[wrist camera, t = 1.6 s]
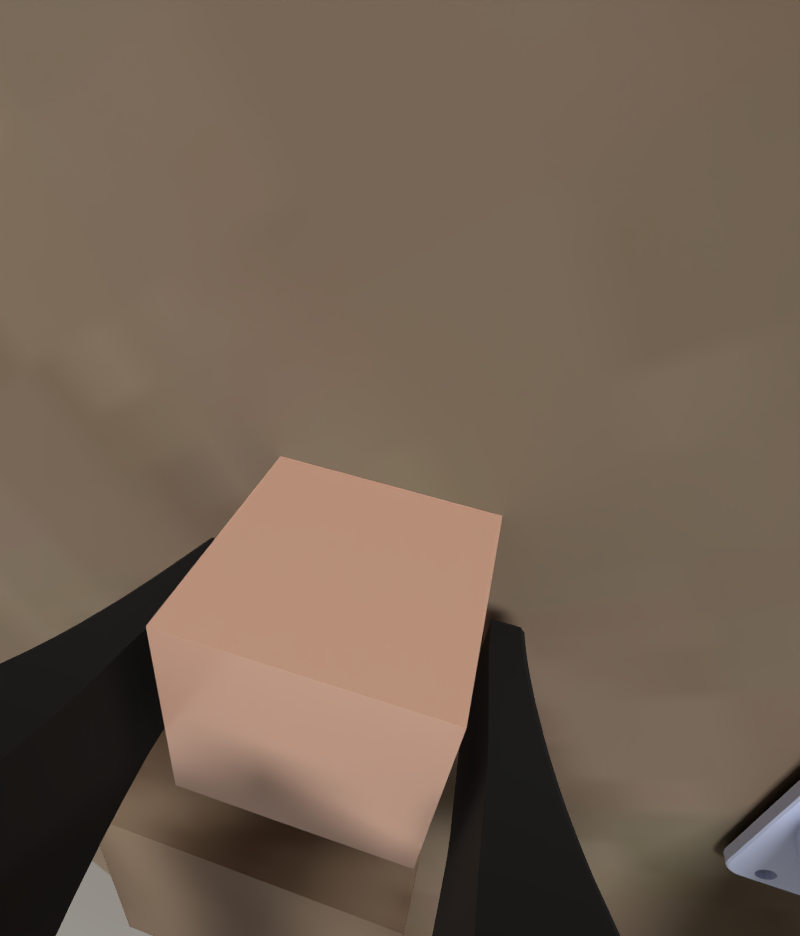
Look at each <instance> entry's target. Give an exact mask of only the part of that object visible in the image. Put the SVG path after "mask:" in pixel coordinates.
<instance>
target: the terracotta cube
mask: <svg viewBox="0 0 800 936" xmlns="http://www.w3.org/2000/svg"><path fill="white" fill-rule="evenodd" d="M501 522H502V516H500V515H497V514H493V513H489V512H486V511H482V510H478V509H474V508H471V507H467V506H463V505H460V504H456V503H452V502H448V501H445V500H441V499H437V498H434V497H430V496H426V495H423V494H419V493H415V492H411V491H408V490H404V489H400V488H397V487H393V486H389V485H385V484H382V483H378V482H374V481H371V480H367V479H363V478H360V477H356V476H352V475H348V474H345V473H341V472H337V471H334V470H330V469H326V468H322V467H319V466H315V465H311V464H308V463H304V462H300V461H297V460H293V459H289V458H285V457H282V456H280V457H279V459H278V460H277V461H276V462H275V464H274V465H273V466H272V467H271V469H270V470H269V471H268V472H267V474H266V475H265V476H264V478H263V479H262V480H261V481H260V483H259V484H258V485H257V486H256V488H255V489H254V490H253V491H252V493H251V494H250V495H249V496H248V498H247V499H246V500H245V502H244V503H243V504H242V505H241V507H240V508H239V509H238V510H237V512H236V513H235V514H234V515H233V517H232V518H231V519H230V520H229V522H228V523H227V524H226V526H225V527H224V528H223V529H222V531H221V532H220V533H219V534H218V536H217V537H216V538H215V539H214V541H213V542H212V543H211V544H210V546H209V547H208V548H207V550H206V551H205V552H204V553H203V555H202V556H201V557H200V558H199V560H198V561H197V562H196V563H195V565H194V566H193V567H192V568H191V570H190V571H189V572H188V574H187V575H186V576H185V577H184V579H183V580H182V581H181V582H180V584H179V585H178V586H177V587H176V589H175V590H174V591H173V592H172V594H171V595H170V596H169V598H168V599H167V600H166V601H165V603H164V604H163V605H162V606H161V608H160V609H159V610H158V611H157V613H156V614H155V615H154V616H153V618H152V619H151V620H150V622H149V623H148V624H147V625H146V630H147V635H148V641H149V646H150V651H151V657H152V662H153V667H154V673H155V678H156V683H157V689H158V694H159V699H160V705H161V710H162V716H163V721H164V726H165V732H166V737H167V742H168V748H169V753H170V758H171V764H172V769H173V774H174V780H175V785H176V786H179V787H182V788H185V789H188V790H191V791H193V792H196V793H199V794H202V795H205V796H208V797H210V798H213V799H216V800H219V801H222V802H225V803H227V804H230V805H233V806H236V807H239V808H242V809H244V810H247V811H250V812H253V813H256V814H259V815H261V816H264V817H267V818H270V819H273V820H276V821H278V822H281V823H284V824H287V825H290V826H293V827H296V828H298V829H301V830H304V831H307V832H310V833H313V834H315V835H318V836H321V837H324V838H327V839H330V840H332V841H335V842H338V843H341V844H344V845H347V846H349V847H352V848H355V849H358V850H361V851H364V852H366V853H369V854H372V855H375V856H378V857H381V858H383V859H386V860H389V861H392V862H395V863H398V864H400V865H403V866H406V867H409V868H412V869H414V866H415V863H416V861H417V858H418V856H419V853H420V850H421V848H422V845H423V842H424V840H425V837H426V834H427V832H428V829H429V826H430V824H431V821H432V818H433V816H434V813H435V810H436V808H437V805H438V802H439V800H440V797H441V795H442V792H443V789H444V787H445V784H446V781H447V779H448V776H449V773H450V771H451V768H452V765H453V763H454V760H455V757H456V755H457V752H458V749H459V747H460V744H461V741H462V739H463V736H464V734H465V731H466V728H467V723H468V717H469V711H470V705H471V699H472V693H473V687H474V681H475V675H476V669H477V663H478V658H479V652H480V646H481V640H482V634H483V628H484V622H485V616H486V610H487V604H488V598H489V593H490V587H491V581H492V575H493V569H494V563H495V557H496V551H497V545H498V539H499V533H500V528H501Z"/></svg>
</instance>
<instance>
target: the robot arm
mask: <svg viewBox="0 0 800 936" xmlns="http://www.w3.org/2000/svg"><path fill="white" fill-rule="evenodd" d="M214 539H215V538H211V539H209V540H208V541H206V542H205V543H203V544H202V545H200V546H199V547H197V548H196V549H195V550H193V551H192V552H190V553H189V554H187V555H186V556H184V557H183V558H182V559H180V560H179V561H177V562H176V563H174V564H173V565H171V566H170V567H168V568H167V569H166V570H164V571H163V572H161V573H160V574H158V575H157V576H155V577H154V578H152V579H151V580H149V581H148V582H146V583H144V584H143V585H141V586H140V587H138V588H137V589H135V590H134V591H132V592H131V593H129V594H128V595H126V596H124V597H123V598H121V599H120V600H118V601H117V602H115V603H113V604H111V605H110V606H108V607H106V608H105V609H103V610H101V611H100V612H98V613H96V614H95V615H93V616H91V617H90V618H88V619H86V620H85V621H83V622H81V623H79V624H78V625H76V626H74V627H72V628H70V629H69V630H67V631H65V632H63V633H61V634H59V635H58V636H56V637H54V638H52V639H50V640H48V641H46V642H44V643H42V644H40V645H38V646H36V647H34V648H32V649H30V650H28V651H26V652H24V653H22V654H20V655H18V656H16V657H14V658H11V659H9V660H7V661H5V662H3V663H1V664H0V936H55V935H56V934H57V932H58V930H59V927H60V925H61V923H62V921H63V919H64V917H65V915H66V913H67V910H68V908H69V906H70V904H71V902H72V900H73V898H74V896H75V894H76V892H77V890H78V888H79V886H80V883H81V881H82V879H83V877H84V875H85V873H86V871H87V869H88V867H89V865H90V863H91V861H92V859H93V857H94V855H95V853H96V851H97V849H98V847H99V845H100V843H101V841H102V840H103V838H104V836H105V834H106V832H107V830H108V828H109V826H110V824H111V822H112V820H113V819H114V817H115V815H116V813H117V811H118V809H119V807H120V805H121V803H122V801H123V800H124V798H125V796H126V794H127V792H128V790H129V789H130V787H131V785H132V783H133V781H134V779H135V778H136V776H137V774H138V772H139V770H140V769H141V767H142V765H143V763H144V761H145V759H146V758H147V756H148V754H149V752H150V751H151V749H152V748H153V746H154V744H155V743H156V741H157V740H158V738H159V736H160V735H161V733H162V732H163V730H164V729H165V726H164V721H163V716H162V710H161V705H160V699H159V694H158V689H157V683H156V678H155V673H154V667H153V662H152V657H151V651H150V646H149V641H148V635H147V630H146V625H147V624H148V623H149V622H150V620H151V619H152V618H153V616H154V615H155V614H156V613H157V611H158V610H159V609H160V608H161V606H162V605H163V604H164V603H165V601H166V600H167V599H168V598H169V596H170V595H171V594H172V592H173V591H174V590H175V589H176V587H177V586H178V585H179V584H180V582H181V581H182V580H183V579H184V577H185V576H186V575H187V574H188V572H189V571H190V570H191V568H192V567H193V566H194V565H195V563H196V562H197V561H198V560H199V558H200V557H201V556H202V555H203V553H204V552H205V551H206V550H207V548H208V547H209V546H210V544H211V543H212V542H213V541H214ZM723 853H724V859H725V864H726V866H727V868H728V869H729V870H731V871H732V872H733V873H735V874H738V875H740V876H743V877H746V878H749V879H752V880H755V881H758V882H761V883H764V884H767V885H770V886H773V887H776V888H779V889H782V890H785V891H788V892H791V893H795V894H798V895H800V780H799V781H798V782H797V783H796V784H795V785H794V786H793V787H792V788H790V789H789V790H788V791H787V792H786V793H785V794H784V795H783V796H782V797H781V798H780V799H778V800H777V801H776V802H775V803H774V804H773V805H772V806H771V807H770V808H769V809H768V810H766V811H765V812H764V813H763V814H762V815H761V816H760V817H759V818H758V819H757V820H755V821H754V822H753V823H752V824H751V825H750V826H749V827H748V828H747V829H746V830H745V831H743V832H742V833H741V834H740V835H739V836H738V837H737V838H736V839H735V840H734V841H733V842H731V843H730V844H729V845H728V846H727V847H726V848H725V849H724V851H723ZM432 936H620V934H619V932H618V930H617V928H616V926H615V923H614V921H613V919H612V917H611V915H610V912H609V910H608V908H607V906H606V904H605V901H604V899H603V897H602V895H601V893H600V890H599V888H598V886H597V884H596V882H595V880H594V877H593V875H592V873H591V870H590V868H589V865H588V863H587V861H586V858H585V856H584V853H583V851H582V848H581V846H580V843H579V841H578V838H577V836H576V833H575V830H574V828H573V825H572V822H571V820H570V817H569V814H568V812H567V809H566V806H565V803H564V800H563V797H562V794H561V791H560V788H559V785H558V782H557V779H556V776H555V773H554V770H553V766H552V763H551V760H550V757H549V753H548V750H547V746H546V743H545V739H544V735H543V731H542V727H541V723H540V719H539V715H538V711H537V707H536V703H535V699H534V694H533V689H532V684H531V679H530V674H529V668H528V662H527V655H526V647H525V637H524V632H523V630H522V629H521V627H517V626H514V625H510V624H507V623H504V622H500V621H497V620H493V619H492V620H491V623H490V626H489V629H488V632H487V635H486V637H485V640H484V643H483V646H482V649H481V652H480V655H479V658H478V663H477V669H476V675H475V681H474V687H473V693H472V699H471V705H470V711H469V717H468V723H467V728H466V731H465V734H464V736H463V739H462V741H461V744H460V747H459V756H458V766H457V776H456V785H455V795H454V805H453V814H452V824H451V834H450V841H449V848H448V855H447V861H446V867H445V872H444V877H443V883H442V888H441V893H440V899H439V904H438V909H437V914H436V919H435V925H434V930H433V935H432Z"/></svg>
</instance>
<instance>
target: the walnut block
mask: <svg viewBox="0 0 800 936" xmlns="http://www.w3.org/2000/svg"><path fill="white" fill-rule="evenodd" d="M100 847H101V850H102V853H103V855H104V858H105V861H106V863H107V866H108V869H109V871H110V874H111V877H112V880H113V882H114V885H115V888H116V890H117V893H118V896H119V898H120V901H121V904H122V907H123V909H124V912H125V915H126V918H127V920H128V923H129V926H130V927H133V928H135V929H138V930H140V931H143V932H145V933H148V934H150V935H153V936H403V935H404V930H405V925H406V920H407V915H408V910H409V906H410V901H411V896H412V891H413V886H414V881H415V876H416V871H417V866H418V861H419V856H420V853H419V856H418V858H417V861H416V863H415V866H414V869H412V868H409V867H406V866H403V865H400V864H398V863H395V862H392V861H389V860H386V859H383V858H381V857H378V856H375V855H372V854H369V853H366V852H364V851H361V850H358V849H355V848H352V847H349V846H347V845H344V844H341V843H338V842H335V841H332V840H330V839H327V838H324V837H321V836H318V835H315V834H313V833H310V832H307V831H304V830H301V829H298V828H296V827H293V826H290V825H287V824H284V823H281V822H278V821H276V820H273V819H270V818H267V817H264V816H261V815H259V814H256V813H253V812H250V811H247V810H244V809H242V808H239V807H236V806H233V805H230V804H227V803H225V802H222V801H219V800H216V799H213V798H210V797H208V796H205V795H202V794H199V793H196V792H193V791H191V790H188V789H185V788H182V787H179V786H176V785H175V780H174V774H173V769H172V764H171V758H170V753H169V748H168V742H167V737H166V732H165V729H164V730H163V732H162V733H161V735H160V736H159V738H158V740H157V741H156V743H155V744H154V746H153V748H152V749H151V751H150V752H149V754H148V756H147V758H146V759H145V761H144V763H143V765H142V767H141V769H140V770H139V772H138V774H137V776H136V778H135V779H134V781H133V783H132V785H131V787H130V789H129V790H128V792H127V794H126V796H125V798H124V800H123V801H122V803H121V805H120V807H119V809H118V811H117V813H116V815H115V817H114V819H113V820H112V822H111V824H110V826H109V828H108V830H107V832H106V834H105V836H104V838H103V840H102V841H101V843H100ZM420 851H421V850H420Z"/></svg>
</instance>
